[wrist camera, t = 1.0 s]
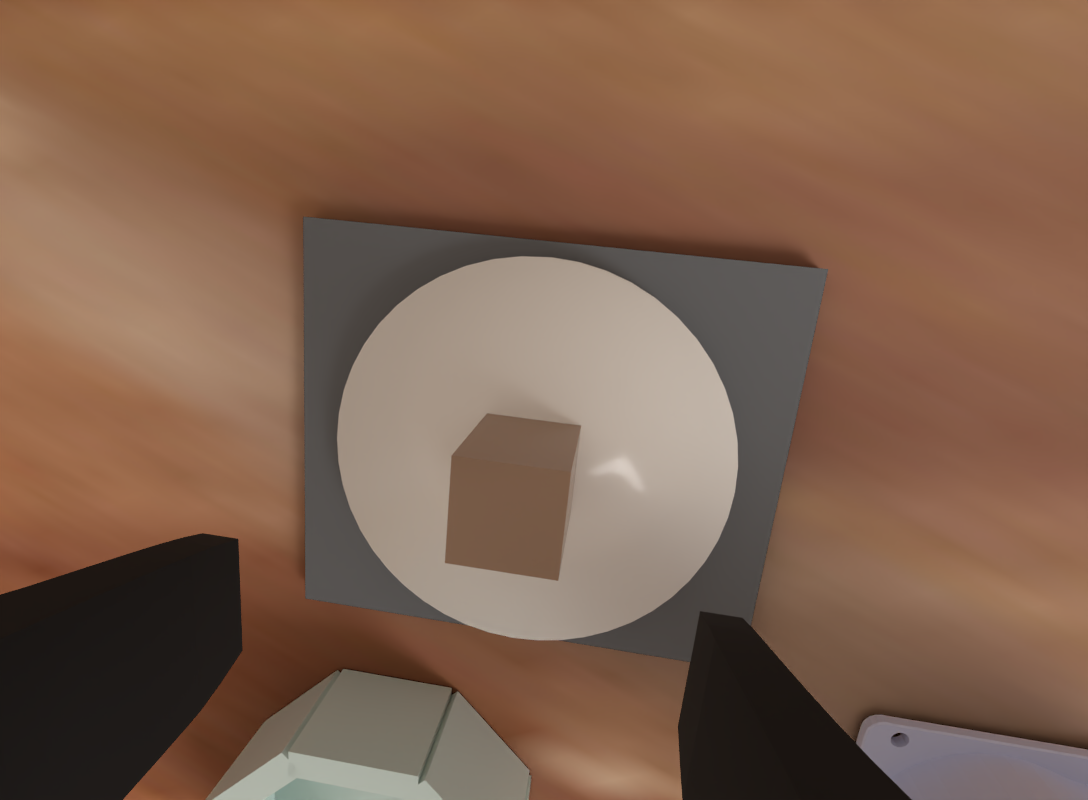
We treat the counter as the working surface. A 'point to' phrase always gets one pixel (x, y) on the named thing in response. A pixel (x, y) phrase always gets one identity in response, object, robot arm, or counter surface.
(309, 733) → the bowl
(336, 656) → the counter surface
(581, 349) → the lid
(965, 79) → the counter surface
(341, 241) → the mat
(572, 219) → the counter surface
